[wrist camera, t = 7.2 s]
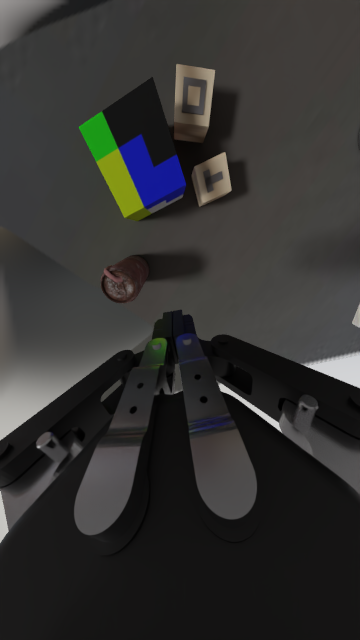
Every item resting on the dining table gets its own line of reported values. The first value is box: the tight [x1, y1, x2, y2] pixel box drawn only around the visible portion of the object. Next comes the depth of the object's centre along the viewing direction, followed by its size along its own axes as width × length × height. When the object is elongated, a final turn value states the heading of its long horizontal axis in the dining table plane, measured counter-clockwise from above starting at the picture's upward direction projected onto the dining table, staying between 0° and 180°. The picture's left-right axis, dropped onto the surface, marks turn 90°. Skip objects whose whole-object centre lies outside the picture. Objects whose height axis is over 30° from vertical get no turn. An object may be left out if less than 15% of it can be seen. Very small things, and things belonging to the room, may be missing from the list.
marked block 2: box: [191, 152, 232, 207], centre depth 28 cm, size 5×5×5 cm
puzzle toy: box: [79, 77, 186, 221], centre depth 25 cm, size 10×10×10 cm
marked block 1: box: [174, 64, 215, 143], centre depth 24 cm, size 5×5×5 cm
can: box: [101, 255, 149, 303], centre depth 31 cm, size 6×6×14 cm
